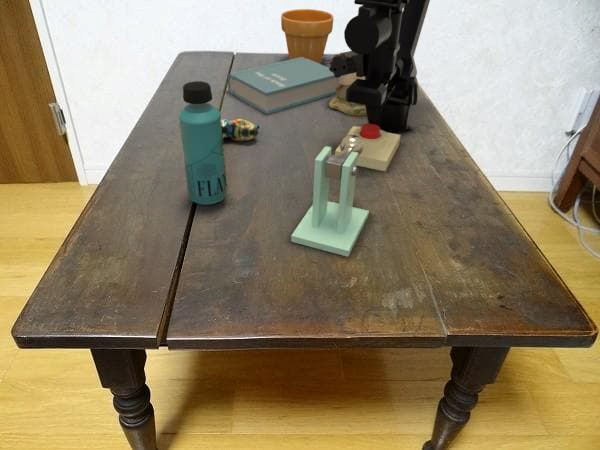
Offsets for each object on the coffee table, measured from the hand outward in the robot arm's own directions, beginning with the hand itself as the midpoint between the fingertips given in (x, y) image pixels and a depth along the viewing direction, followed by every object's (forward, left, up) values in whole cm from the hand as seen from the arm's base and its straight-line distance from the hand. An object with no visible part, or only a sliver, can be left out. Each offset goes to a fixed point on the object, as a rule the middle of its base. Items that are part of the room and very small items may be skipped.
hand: (371, 123), depth 92 cm
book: (+2, -35, -6) cm, 36 cm away
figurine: (+24, -18, -6) cm, 31 cm away
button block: (0, 0, -6) cm, 6 cm away
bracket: (+19, +19, -6) cm, 28 cm away
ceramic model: (-11, -21, -6) cm, 25 cm away
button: (0, 0, -3) cm, 3 cm away
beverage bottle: (+34, +4, -6) cm, 35 cm away
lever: (+16, +16, +3) cm, 23 cm away
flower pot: (-13, -53, -6) cm, 55 cm away
